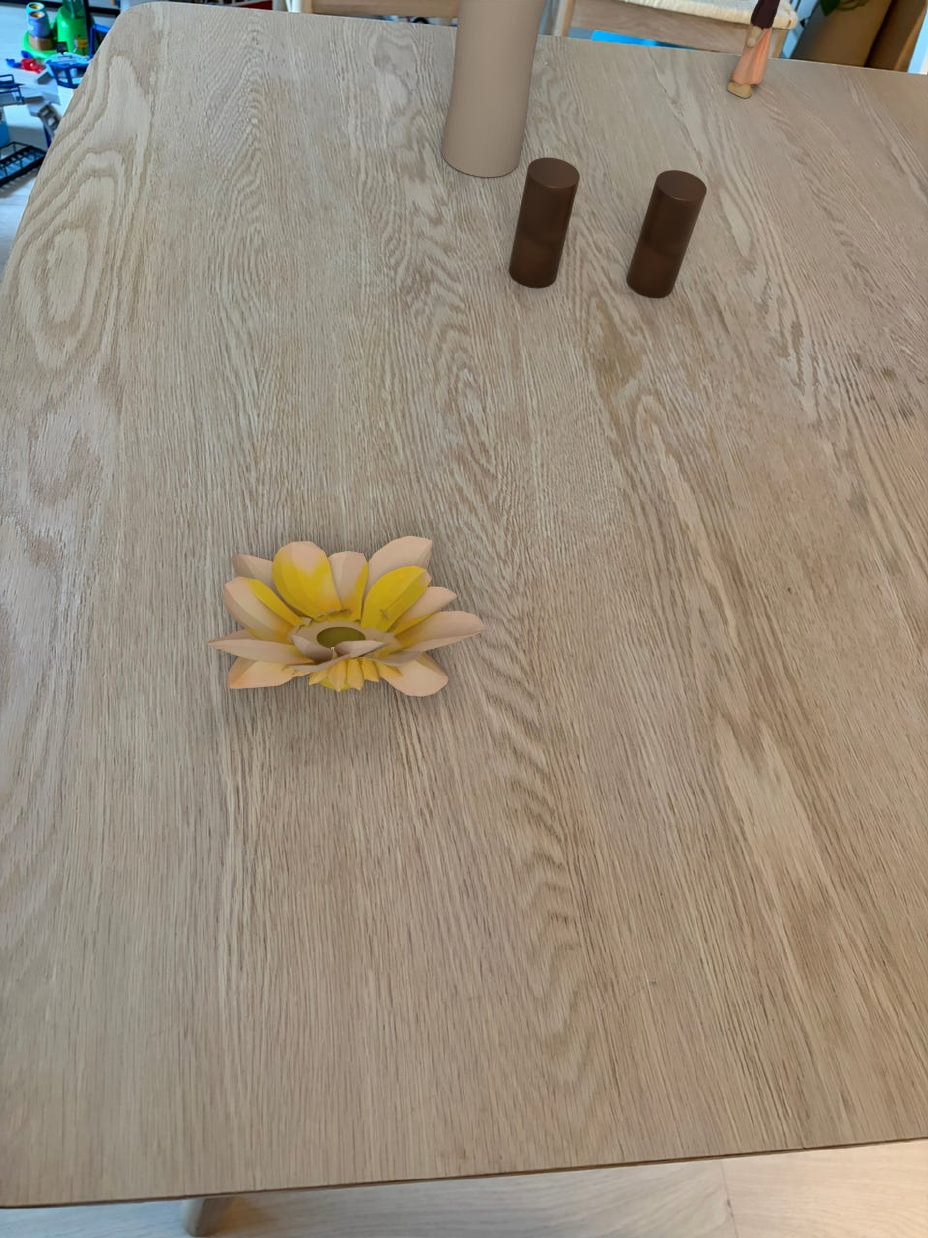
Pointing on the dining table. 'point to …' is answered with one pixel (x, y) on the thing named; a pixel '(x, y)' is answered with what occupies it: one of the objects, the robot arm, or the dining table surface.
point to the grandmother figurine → (754, 49)
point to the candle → (491, 85)
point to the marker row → (550, 216)
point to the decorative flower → (341, 618)
